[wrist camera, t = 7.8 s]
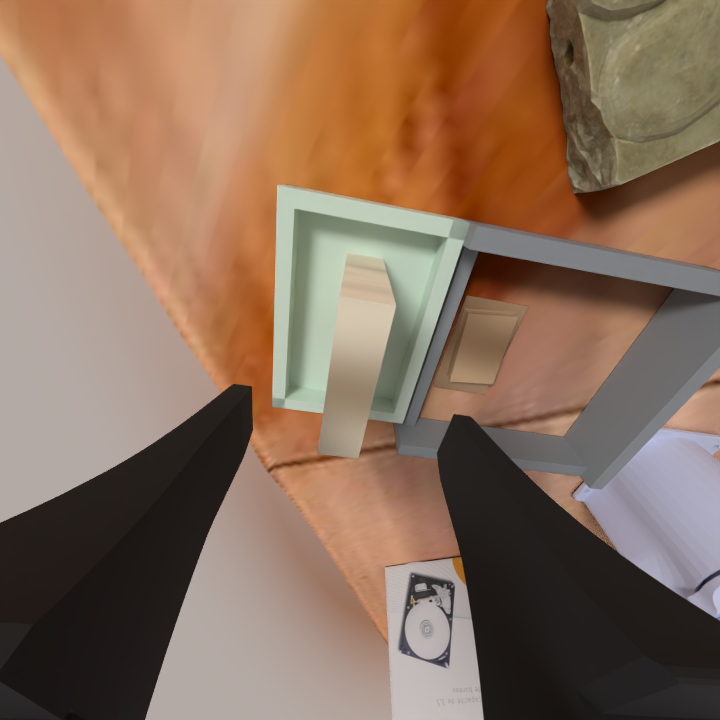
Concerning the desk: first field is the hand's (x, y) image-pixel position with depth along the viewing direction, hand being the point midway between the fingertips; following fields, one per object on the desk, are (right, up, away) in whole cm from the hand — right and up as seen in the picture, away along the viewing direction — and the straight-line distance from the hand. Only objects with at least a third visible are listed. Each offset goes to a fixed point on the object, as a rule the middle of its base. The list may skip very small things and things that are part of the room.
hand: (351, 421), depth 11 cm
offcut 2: (+8, +3, +9) cm, 13 cm away
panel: (0, +5, +8) cm, 9 cm away
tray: (0, +5, +8) cm, 9 cm away
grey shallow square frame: (+12, +2, +10) cm, 15 cm away
